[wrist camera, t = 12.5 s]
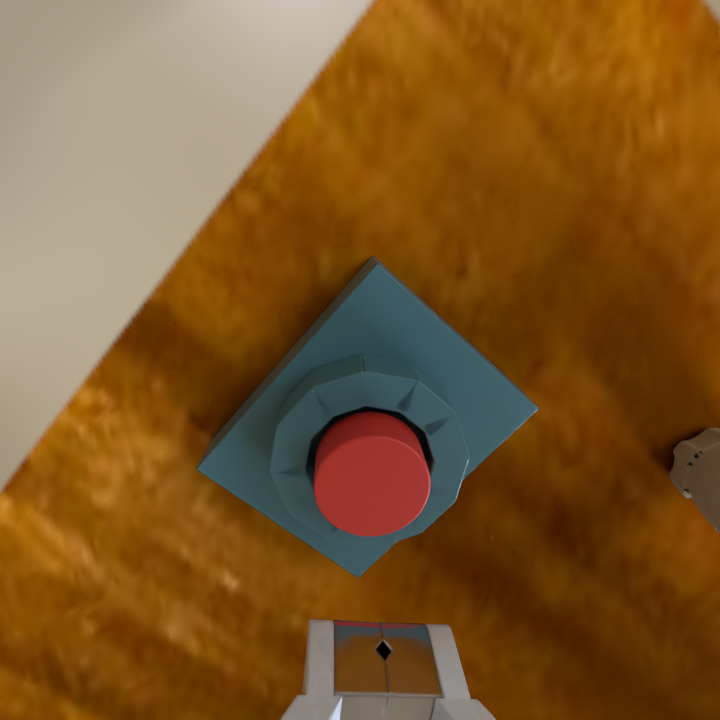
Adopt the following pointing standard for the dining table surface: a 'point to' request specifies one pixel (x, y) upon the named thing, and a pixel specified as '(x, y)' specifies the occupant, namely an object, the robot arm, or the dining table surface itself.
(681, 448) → the handle
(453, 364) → the button block
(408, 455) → the red button
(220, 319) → the dining table surface
